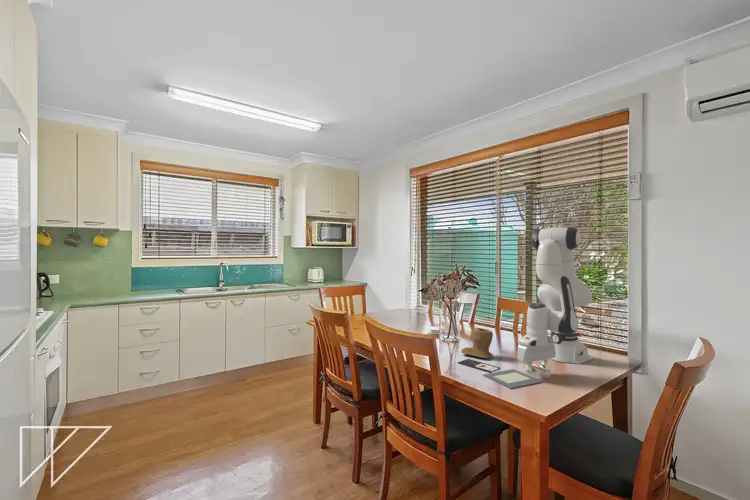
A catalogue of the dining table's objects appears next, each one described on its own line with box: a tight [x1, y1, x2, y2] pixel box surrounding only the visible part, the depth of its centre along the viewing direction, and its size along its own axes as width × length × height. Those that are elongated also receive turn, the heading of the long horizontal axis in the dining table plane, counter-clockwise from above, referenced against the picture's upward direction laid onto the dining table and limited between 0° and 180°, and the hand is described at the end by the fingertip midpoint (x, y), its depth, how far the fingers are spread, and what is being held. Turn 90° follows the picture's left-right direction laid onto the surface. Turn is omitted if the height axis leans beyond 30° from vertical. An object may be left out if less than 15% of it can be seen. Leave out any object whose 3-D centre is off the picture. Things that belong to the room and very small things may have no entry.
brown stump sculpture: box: [461, 327, 494, 359], centre depth 193 cm, size 15×12×15 cm
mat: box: [482, 368, 544, 390], centre depth 160 cm, size 18×17×1 cm
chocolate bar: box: [457, 358, 501, 374], centre depth 177 cm, size 9×1×18 cm
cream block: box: [523, 363, 552, 380], centre depth 166 cm, size 10×6×3 cm, turn 24°
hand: (536, 369), depth 166 cm, fingers closed on cream block, 6 cm apart
